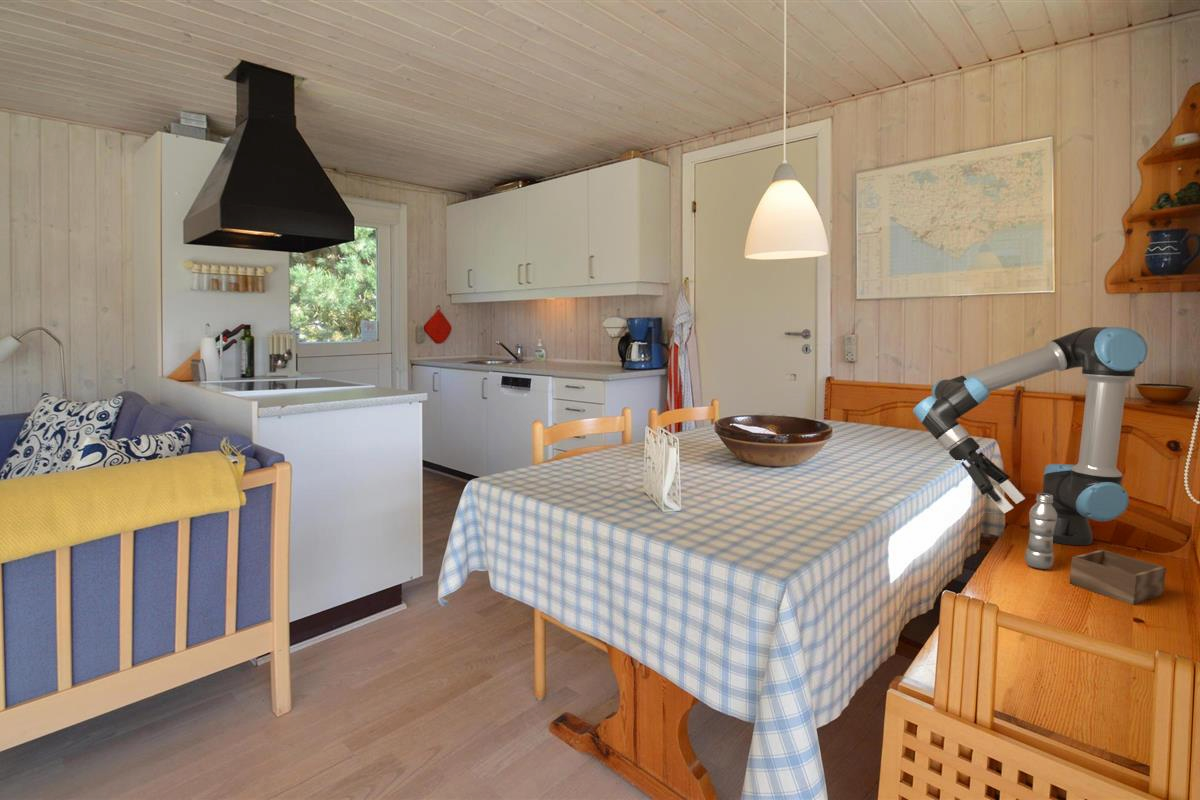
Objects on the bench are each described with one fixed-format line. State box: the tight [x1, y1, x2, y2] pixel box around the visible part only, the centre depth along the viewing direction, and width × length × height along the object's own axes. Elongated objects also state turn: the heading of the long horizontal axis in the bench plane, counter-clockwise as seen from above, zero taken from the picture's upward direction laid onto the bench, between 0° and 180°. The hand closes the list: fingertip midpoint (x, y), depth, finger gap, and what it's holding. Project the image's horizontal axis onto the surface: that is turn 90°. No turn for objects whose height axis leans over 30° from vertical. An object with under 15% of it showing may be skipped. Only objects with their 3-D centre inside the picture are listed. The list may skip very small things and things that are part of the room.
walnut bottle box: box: [1068, 549, 1167, 606], centre depth 158 cm, size 14×14×7 cm
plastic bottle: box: [1024, 492, 1058, 570], centre depth 172 cm, size 6×7×20 cm
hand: (1015, 505), depth 175 cm, fingers open, 13 cm apart
